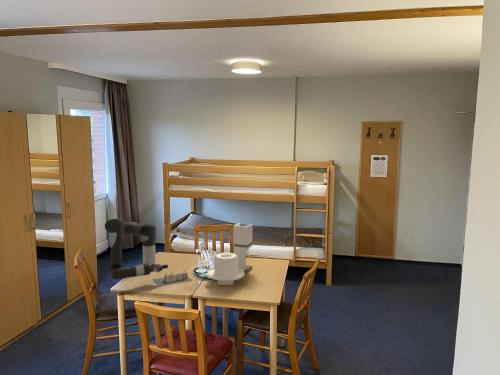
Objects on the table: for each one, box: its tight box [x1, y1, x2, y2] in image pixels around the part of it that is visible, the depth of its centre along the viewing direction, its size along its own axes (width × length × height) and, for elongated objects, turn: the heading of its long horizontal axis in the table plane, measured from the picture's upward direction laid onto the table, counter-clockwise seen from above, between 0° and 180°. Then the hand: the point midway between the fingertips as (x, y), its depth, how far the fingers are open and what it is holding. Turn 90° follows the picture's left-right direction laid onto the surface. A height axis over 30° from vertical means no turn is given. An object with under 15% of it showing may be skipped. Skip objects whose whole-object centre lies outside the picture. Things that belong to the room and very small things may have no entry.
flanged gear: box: [207, 252, 245, 286], centre depth 273 cm, size 25×25×19 cm
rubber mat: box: [152, 276, 193, 288], centre depth 276 cm, size 16×24×1 cm, turn 119°
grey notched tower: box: [233, 222, 253, 274], centre depth 297 cm, size 11×11×35 cm
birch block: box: [164, 270, 189, 282], centre depth 277 cm, size 4×4×15 cm
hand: (167, 266), depth 273 cm, fingers closed
